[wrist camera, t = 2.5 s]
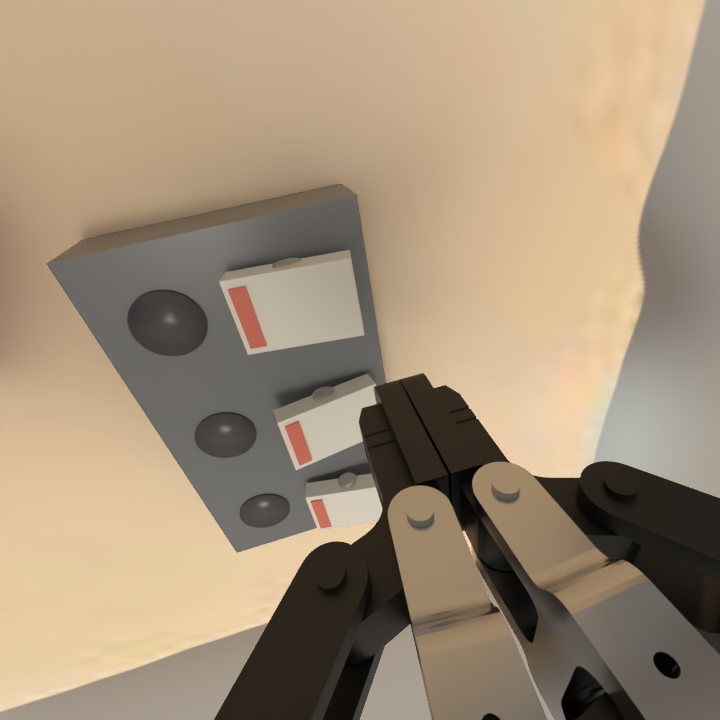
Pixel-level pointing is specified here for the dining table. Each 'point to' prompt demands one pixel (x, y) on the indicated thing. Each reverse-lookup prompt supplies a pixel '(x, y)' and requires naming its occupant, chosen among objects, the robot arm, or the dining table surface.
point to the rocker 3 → (343, 501)
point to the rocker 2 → (325, 420)
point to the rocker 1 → (294, 302)
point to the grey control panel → (225, 348)
